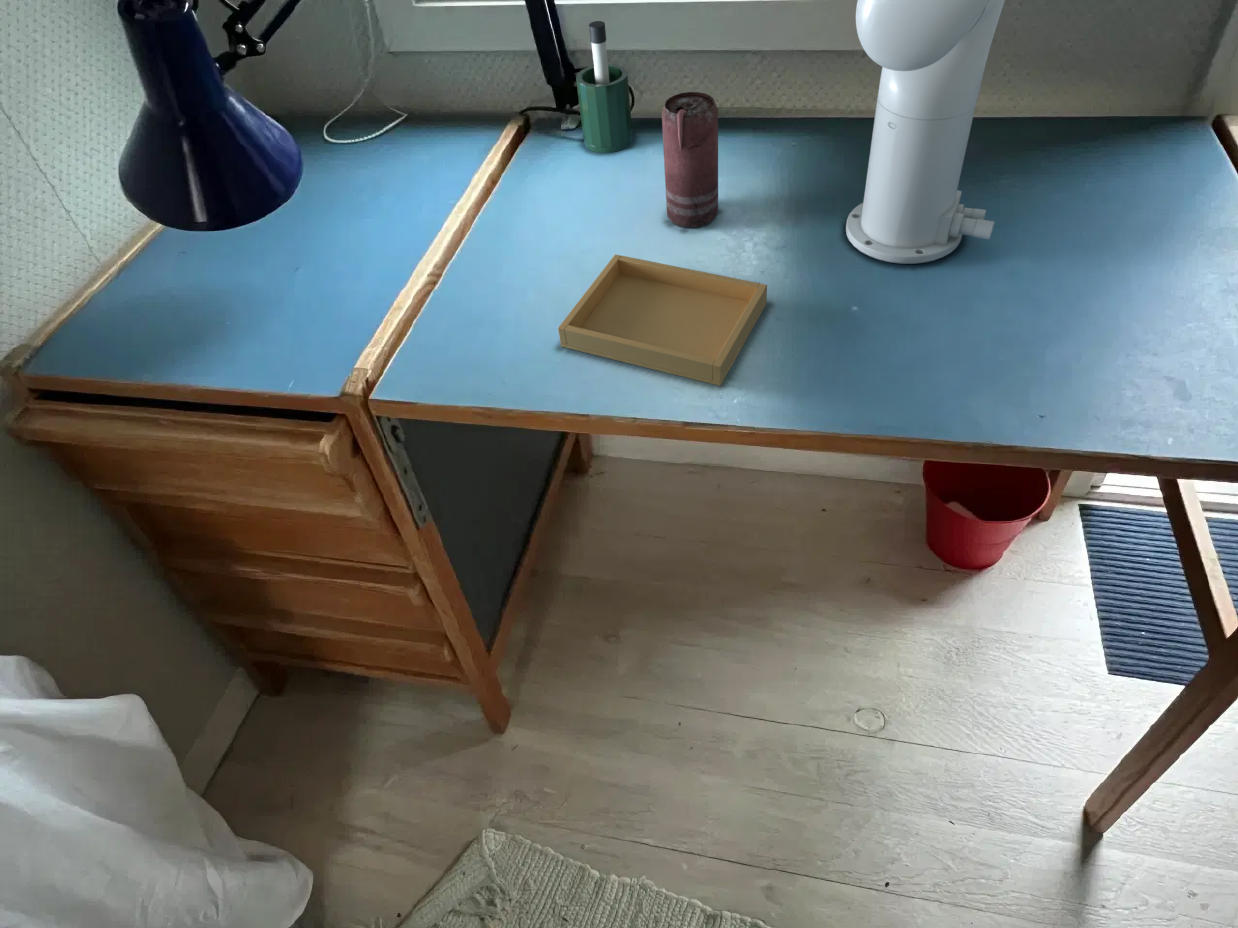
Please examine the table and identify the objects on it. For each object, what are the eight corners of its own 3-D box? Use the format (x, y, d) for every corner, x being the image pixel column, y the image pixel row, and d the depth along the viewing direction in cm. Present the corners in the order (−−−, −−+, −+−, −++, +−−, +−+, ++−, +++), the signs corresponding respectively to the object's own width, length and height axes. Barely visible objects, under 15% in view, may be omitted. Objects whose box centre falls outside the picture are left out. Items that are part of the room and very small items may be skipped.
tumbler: (640, 132, 120) (635, 67, 113) (619, 156, 116) (613, 89, 109) (597, 126, 122) (590, 61, 116) (576, 149, 118) (567, 83, 112)
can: (662, 230, 103) (655, 116, 93) (672, 201, 107) (667, 88, 97) (713, 233, 102) (712, 117, 92) (721, 203, 106) (721, 90, 96)
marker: (617, 133, 119) (607, 21, 108) (611, 139, 118) (600, 28, 107) (604, 131, 119) (593, 20, 109) (598, 138, 118) (586, 26, 108)
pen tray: (766, 304, 92) (767, 284, 90) (720, 386, 84) (720, 366, 83) (616, 272, 98) (614, 254, 97) (560, 346, 90) (557, 327, 89)
